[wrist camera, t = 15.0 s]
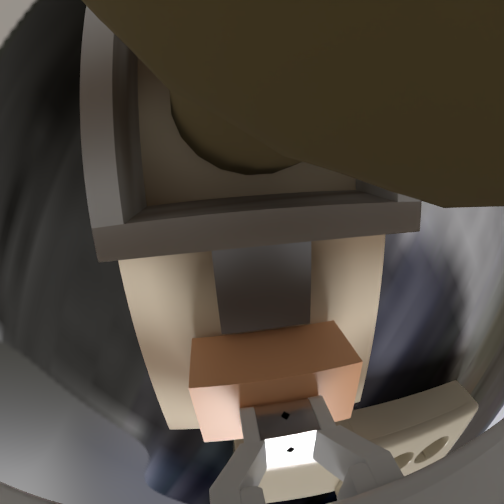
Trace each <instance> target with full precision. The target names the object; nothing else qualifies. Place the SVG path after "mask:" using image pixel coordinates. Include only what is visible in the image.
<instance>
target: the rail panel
mask: <svg viewBox="0 0 504 504" xmlns="http://www.w3.org/2000/svg"><path fill="white" fill-rule="evenodd" d="M80 129H81V146H82V159H83V170H84V179H85V187H86V195H87V202H88V209H89V216H90V222H91V227H92V233H93V238H94V244H95V249H96V253H97V258H98V262H107V261H117V260H118V262H119V266H120V271H121V276H122V280H123V285H124V289H125V293H126V297H127V301H128V305H129V309H130V313H131V317H132V320H133V324H134V328H135V331H136V335H137V338H138V341H139V345H140V348H141V351H142V355H143V358H144V361H145V364H146V367H147V370H148V373H149V376H150V379H151V382H152V385H153V387H154V390H155V393H156V396H157V398H158V401H159V404H160V406H161V409H162V411H163V414H164V416H165V419H166V421H167V424H168V426H169V429H198V428H200V426H199V423H198V420H197V417H196V413H195V410H194V406H193V403H192V399H191V396H190V392H189V388H188V387H189V371H190V357H191V344H192V338H202V337H213V336H223V335H233V334H242V333H250V332H259V331H266V330H274V329H281V328H288V327H295V326H302V325H308V324H315V323H321V322H327V321H332V320H334V321H335V323H336V324H337V325H338V327H339V328H340V330H341V331H342V332H343V334H344V335H345V337H346V338H347V340H348V341H349V342H350V344H351V345H352V347H353V348H354V350H355V351H356V352H357V354H358V355H359V357H360V358H361V360H362V361H363V364H362V369H361V374H360V379H359V384H358V389H357V393H356V398H355V402H354V403H357V402H360V399H361V395H362V391H363V387H364V382H365V378H366V373H367V368H368V364H369V359H370V353H371V348H372V343H373V337H374V331H375V325H376V318H377V311H378V304H379V296H380V288H381V279H382V270H383V259H384V246H385V234H396V233H407V232H418V231H420V219H421V200H418V199H415V198H411V197H408V196H405V195H401V194H398V193H394V192H391V191H388V190H385V189H383V188H380V187H377V186H375V185H372V184H369V183H366V182H364V181H361V180H358V179H355V178H352V177H349V176H346V175H343V174H340V173H337V172H334V171H331V170H328V169H325V168H322V167H318V166H315V165H312V164H309V163H305V162H301V163H298V164H296V165H293V166H291V167H288V168H285V169H283V170H280V171H278V172H275V173H273V174H257V175H243V174H239V173H235V172H230V171H226V170H221V169H219V168H218V167H216V166H214V165H213V164H211V163H209V162H207V161H206V160H204V159H202V158H200V157H199V156H197V154H196V153H195V152H194V151H193V150H192V149H191V148H190V147H189V146H188V144H187V143H186V142H185V141H184V140H183V139H182V138H181V136H180V134H179V131H178V129H177V127H176V124H175V122H174V120H173V117H172V115H171V105H170V90H169V89H168V88H167V87H166V86H165V85H164V84H163V83H162V82H161V81H160V80H159V79H158V78H157V77H156V75H155V74H154V73H153V72H152V71H151V70H150V69H149V68H148V67H147V66H146V65H145V64H144V63H143V62H142V61H141V60H140V59H139V58H138V57H137V56H136V55H135V54H134V53H133V52H132V51H131V50H130V49H129V48H128V47H127V46H126V45H125V44H124V43H123V42H122V41H121V40H120V39H119V38H118V37H117V36H116V35H115V34H114V33H113V32H112V31H111V30H110V29H109V28H108V27H107V26H106V25H105V24H104V23H103V22H101V21H100V20H99V19H98V17H97V16H96V15H95V14H94V13H93V12H92V11H91V10H90V9H89V8H88V7H87V6H86V11H85V19H84V27H83V37H82V49H81V65H80Z"/></svg>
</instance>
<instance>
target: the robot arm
mask: <svg viewBox="0 0 504 504" xmlns="http://www.w3.org/2000/svg"><path fill="white" fill-rule="evenodd" d="M239 412H240V419H241V426H242V433H243V440H244V443H241V444H239V446H238V447H237V449H236V451H235V452H234V454H233V455H232V457H231V458H230V460H229V461H228V463H227V464H226V466H225V467H224V469H223V470H222V472H221V473H220V475H219V476H218V478H217V479H216V480H215V482H214V483H213V485H212V486H211V488H210V489H209V492H210V504H266V503H265V498H264V494H263V489H262V488H260V487H258V486H259V484H260V482H261V480H262V478H263V476H264V474H265V471H266V469H267V466H273V465H278V464H283V463H288V462H293V461H299V460H304V459H309V458H313V459H314V460H315V461H316V462H317V463H319V464H320V465H321V466H323V467H324V468H325V469H326V470H328V471H329V472H330V473H332V474H333V475H334V476H336V477H337V478H338V479H340V480H341V481H343V484H342V486H341V488H340V491H339V493H338V495H337V499H338V501H335V502H332V503H328V504H504V418H503V419H502V420H501V421H499V422H498V423H497V424H495V425H494V426H492V427H491V428H490V429H488V430H487V431H485V432H484V433H482V434H481V435H479V436H478V437H476V438H475V439H473V440H472V441H470V442H469V443H467V444H465V445H464V446H462V447H460V448H459V449H457V450H455V451H454V452H452V453H450V454H448V455H447V456H445V457H443V458H441V459H439V460H437V461H436V462H434V463H432V464H430V465H428V466H426V467H424V468H422V469H420V470H418V471H416V472H413V473H411V474H409V475H407V476H405V477H404V475H403V474H402V472H401V470H400V468H399V467H398V465H397V463H396V461H395V459H394V458H393V456H392V454H391V452H390V451H388V450H386V449H384V448H382V447H380V446H378V445H376V444H374V443H372V442H370V441H369V440H367V439H365V438H363V437H361V436H359V435H357V434H356V433H354V432H352V431H350V430H348V429H346V428H345V427H343V426H341V425H338V426H336V424H335V422H334V420H333V417H332V415H331V413H330V411H329V409H328V407H327V405H326V402H325V400H324V398H323V396H321V395H318V396H313V397H309V398H303V399H298V400H293V401H288V402H282V403H278V404H271V405H263V406H254V407H246V408H240V410H239ZM0 504H61V503H57V502H54V501H51V500H47V499H44V498H41V497H38V496H35V495H32V494H29V493H27V492H24V491H22V490H19V489H17V488H14V487H12V486H9V485H7V484H5V483H2V482H0Z"/></svg>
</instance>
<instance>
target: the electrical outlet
mask: <svg viewBox="0 0 504 504" xmlns="http://www.w3.org/2000/svg"><path fill="white" fill-rule="evenodd" d="M478 407H479V406H478V403H477V402H476V401H475V400H474V398H473V397H472V396H471V395H470V394H469V393H468V392H467V391H466V390H465V389H464V388H463V387H462V385H461V384H460V383H459V382H458V381H457V380H454V381H451V382H449V383H446V384H443V385H441V386H438V387H435V388H432V389H429V390H426V391H423V392H420V393H417V394H414V395H410V396H407V397H404V398H400V399H397V400H393V401H389V402H386V403H382V404H378V405H374V406H370V407H365V408H361V409H357V410H352V414H351V418H349V419H345V420H341V421H337V422H335V424H336V426H338V425H341V426H343V427H345V428H346V429H348V430H350V431H352V432H354V433H356V434H357V435H359V436H361V437H363V438H365V439H367V440H369V441H370V442H372V443H374V444H376V445H378V446H380V447H382V448H384V449H386V450H388V451H390V452H391V454H392V456H393V458H394V459H395V461H396V463H397V465H398V467H399V468H400V470H401V472H402V474H403V475H404V476H406V475H409V474H411V473H413V472H416V471H418V470H420V469H422V468H424V467H426V466H428V465H430V464H432V463H434V462H436V461H437V460H439V459H441V458H443V457H445V456H446V454H447V453H448V452H449V451H450V449H451V448H452V447H453V445H454V444H455V443H456V441H457V440H458V439H459V437H460V436H461V434H462V433H463V431H464V430H465V429H466V427H467V426H468V424H469V423H470V421H471V420H472V418H473V417H474V415H475V413H476V412H477V410H478ZM241 443H244V440H243V439H237V440H233V454H234V452H235V451H236V449H237V447H238V446H239V444H241ZM342 484H343V481H341V480H340V479H338V478H337V477H336V476H334V475H333V474H332V473H330V472H329V471H328V470H326V469H325V468H324V467H323V466H321V465H320V464H319V463H317V462H316V461H315V460H314V459H313V458H309V459H304V460H299V461H293V462H288V463H283V464H278V465H273V466H267V469H266V471H265V474H264V476H263V478H262V480H261V482H260V484H259V486H258V487H260V488H262V489H263V494H264V498H265V503H271V502H279V501H285V500H292V499H298V498H303V497H309V496H314V495H318V494H323V493H327V492H332V491H335V493H336V495H338V493H339V491H340V488H341V486H342Z"/></svg>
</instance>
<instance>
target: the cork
mask: <svg viewBox="0 0 504 504" xmlns="http://www.w3.org/2000/svg"><path fill="white" fill-rule="evenodd" d="M82 2H83V3H84V4H85V5H86V6H87V7H88V8H89V9H90V10H91V11H92V12H93V13H94V14H95V15H96V16H97V17H98V19H99V20H100V21H101V22H103V23H104V24H105V25H106V26H107V27H108V28H109V29H110V30H111V31H112V32H113V33H114V34H115V35H116V36H117V37H118V38H119V39H120V40H121V41H122V42H123V43H124V44H125V45H126V46H127V47H128V48H129V49H130V50H131V51H132V52H133V53H134V54H135V55H136V56H137V57H138V58H139V59H140V60H141V61H142V62H143V63H144V64H145V65H146V66H147V67H148V68H149V69H150V70H151V71H152V72H153V73H154V74H155V75H156V77H157V78H158V79H159V80H160V81H161V82H162V83H163V84H164V85H165V86H166V87H167V88H168V89H169V90H170V105H171V115H172V117H173V120H174V122H175V124H176V127H177V129H178V131H179V134H180V136H181V138H182V139H183V140H184V141H185V142H186V143H187V144H188V146H189V147H190V148H191V149H192V150H193V151H194V152H195V153H196V154H197V156H199V157H200V158H202V159H204V160H206V161H207V162H209V163H211V164H213V165H214V166H216V167H218V168H219V169H221V170H226V171H230V172H235V173H239V174H243V175H257V174H273V173H275V172H278V171H280V170H283V169H285V168H288V167H291V166H293V165H296V164H298V163H301V162H305V163H309V164H312V165H315V166H318V167H322V168H325V169H328V170H331V171H334V172H337V173H340V174H343V175H346V176H349V177H352V178H355V179H358V180H361V181H364V182H366V183H369V184H372V185H375V186H377V187H380V188H383V189H385V190H388V191H391V192H394V193H398V194H401V195H405V196H408V197H411V198H415V199H418V200H421V201H424V202H427V203H431V204H434V205H437V206H440V207H443V208H453V207H487V206H504V0H82Z"/></svg>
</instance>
